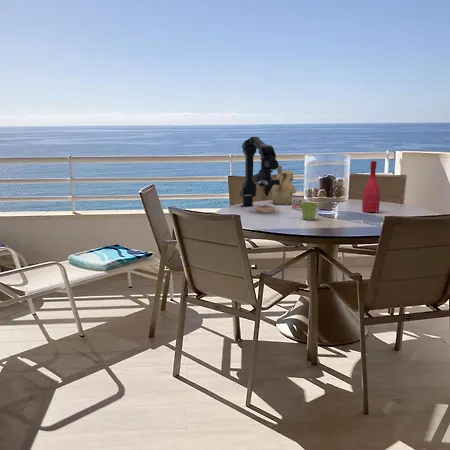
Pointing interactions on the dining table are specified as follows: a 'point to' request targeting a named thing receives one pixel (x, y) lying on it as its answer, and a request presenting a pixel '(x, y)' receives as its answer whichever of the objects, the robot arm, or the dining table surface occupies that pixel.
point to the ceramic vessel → (283, 188)
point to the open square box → (265, 209)
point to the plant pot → (309, 210)
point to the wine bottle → (371, 192)
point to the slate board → (261, 213)
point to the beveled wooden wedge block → (263, 196)
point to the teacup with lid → (297, 200)
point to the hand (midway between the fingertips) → (265, 195)
